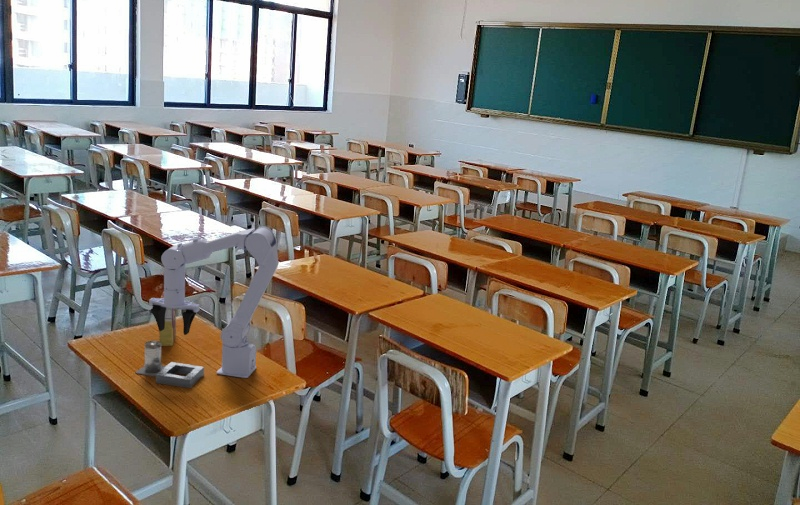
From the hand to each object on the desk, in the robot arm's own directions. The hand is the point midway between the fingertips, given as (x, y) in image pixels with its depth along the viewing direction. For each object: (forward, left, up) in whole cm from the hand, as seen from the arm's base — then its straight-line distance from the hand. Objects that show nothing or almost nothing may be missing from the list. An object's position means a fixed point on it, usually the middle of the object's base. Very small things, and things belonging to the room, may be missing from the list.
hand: (174, 331), depth 192 cm
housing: (-6, +8, -10) cm, 14 cm away
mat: (+4, +6, -10) cm, 12 cm away
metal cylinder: (+4, +6, -10) cm, 12 cm away
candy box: (+10, -16, -11) cm, 22 cm away
